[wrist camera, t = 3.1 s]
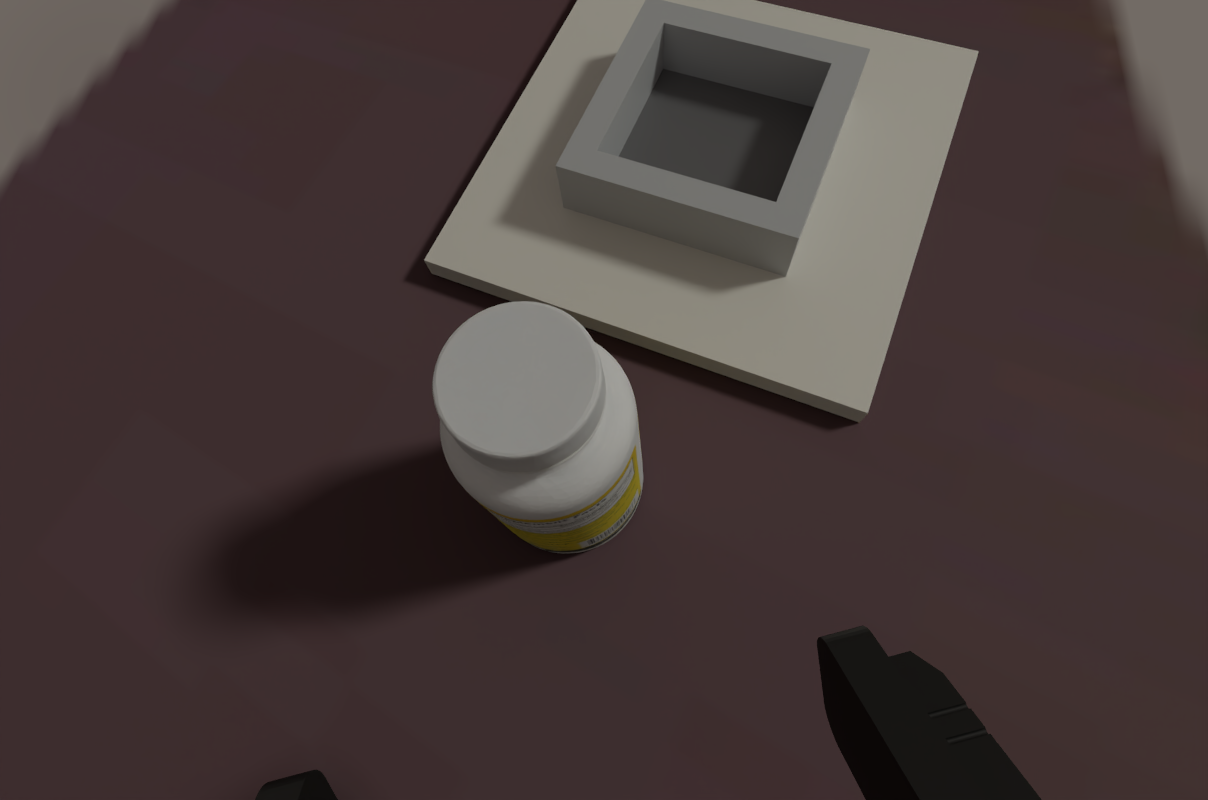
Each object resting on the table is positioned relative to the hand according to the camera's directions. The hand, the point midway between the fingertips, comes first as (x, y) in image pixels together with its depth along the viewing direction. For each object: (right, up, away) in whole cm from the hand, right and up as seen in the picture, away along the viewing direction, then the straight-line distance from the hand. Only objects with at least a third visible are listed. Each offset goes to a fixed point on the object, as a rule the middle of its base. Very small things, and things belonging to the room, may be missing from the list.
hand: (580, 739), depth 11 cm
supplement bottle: (-1, +2, +14) cm, 14 cm away
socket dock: (+5, +15, +19) cm, 25 cm away
